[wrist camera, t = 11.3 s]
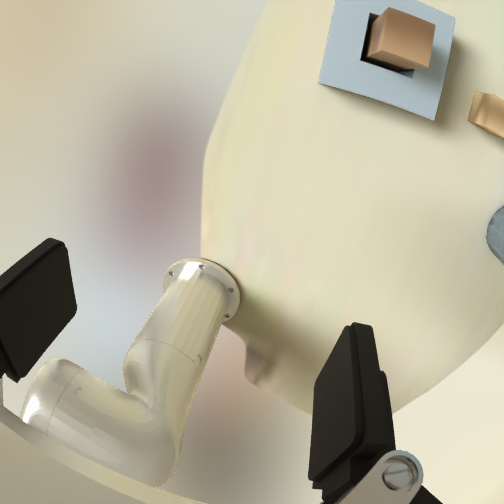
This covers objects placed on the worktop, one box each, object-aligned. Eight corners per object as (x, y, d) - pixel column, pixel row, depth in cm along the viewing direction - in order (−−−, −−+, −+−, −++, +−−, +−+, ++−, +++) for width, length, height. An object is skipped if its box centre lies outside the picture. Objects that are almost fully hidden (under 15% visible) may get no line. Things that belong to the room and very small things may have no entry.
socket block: (416, 114, 30) (433, 120, 25) (317, 83, 31) (318, 82, 26) (435, 26, 23) (455, 18, 18) (336, -8, 24) (340, -24, 19)
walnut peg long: (392, 71, 28) (428, 67, 18) (359, 60, 28) (381, 50, 18) (398, 40, 26) (435, 24, 16) (365, 30, 26) (388, 6, 16)
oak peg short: (490, 132, 28) (510, 141, 24) (467, 120, 28) (486, 126, 24) (498, 105, 26) (518, 110, 22) (475, 91, 26) (494, 95, 22)
